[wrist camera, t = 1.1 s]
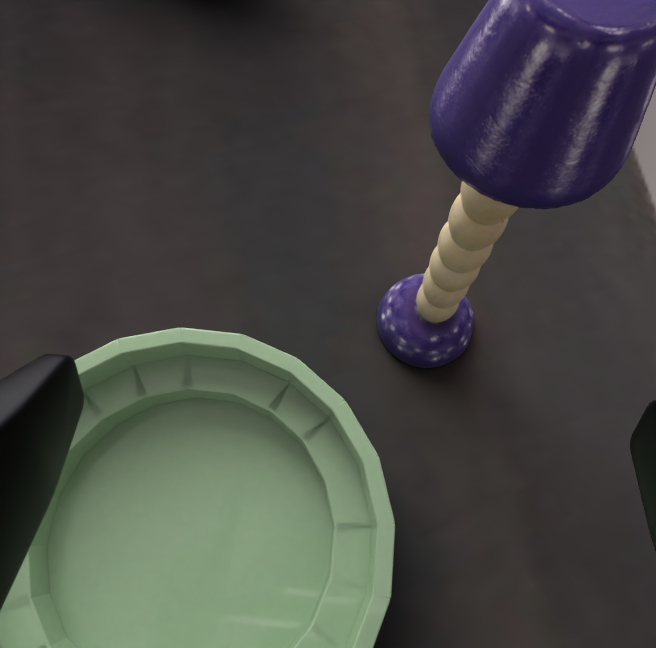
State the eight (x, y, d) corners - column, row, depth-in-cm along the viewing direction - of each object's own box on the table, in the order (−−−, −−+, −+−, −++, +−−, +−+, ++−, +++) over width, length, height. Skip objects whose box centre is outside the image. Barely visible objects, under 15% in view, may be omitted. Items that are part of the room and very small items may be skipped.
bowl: (420, 696, 21) (446, 731, 17) (9, 808, 19) (-58, 873, 16) (334, 329, 25) (340, 297, 22) (-5, 394, 24) (-60, 370, 20)
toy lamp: (347, 329, 25) (429, 2, 10) (399, 249, 27) (544, -151, 11) (444, 386, 25) (702, 137, 9) (491, 301, 26) (787, -45, 10)
